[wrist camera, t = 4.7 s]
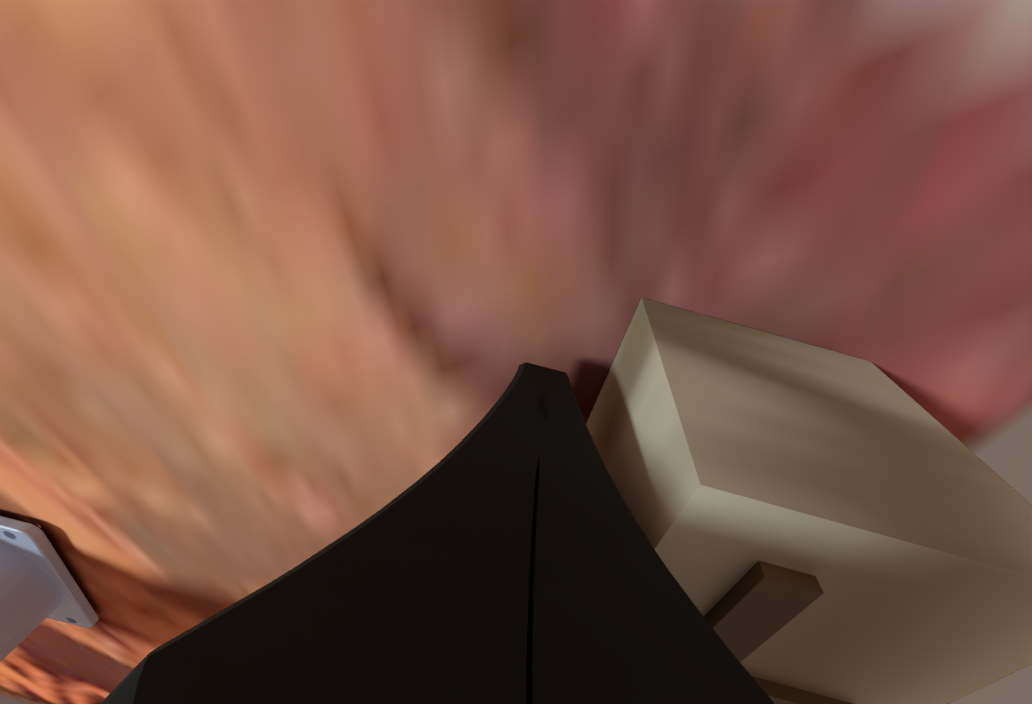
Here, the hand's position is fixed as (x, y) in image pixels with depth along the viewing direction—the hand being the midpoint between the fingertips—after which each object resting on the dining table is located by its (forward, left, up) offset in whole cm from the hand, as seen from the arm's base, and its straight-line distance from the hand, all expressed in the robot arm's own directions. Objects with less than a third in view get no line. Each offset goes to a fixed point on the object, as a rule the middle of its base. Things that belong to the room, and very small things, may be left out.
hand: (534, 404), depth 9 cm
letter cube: (+4, 0, -1) cm, 4 cm away
